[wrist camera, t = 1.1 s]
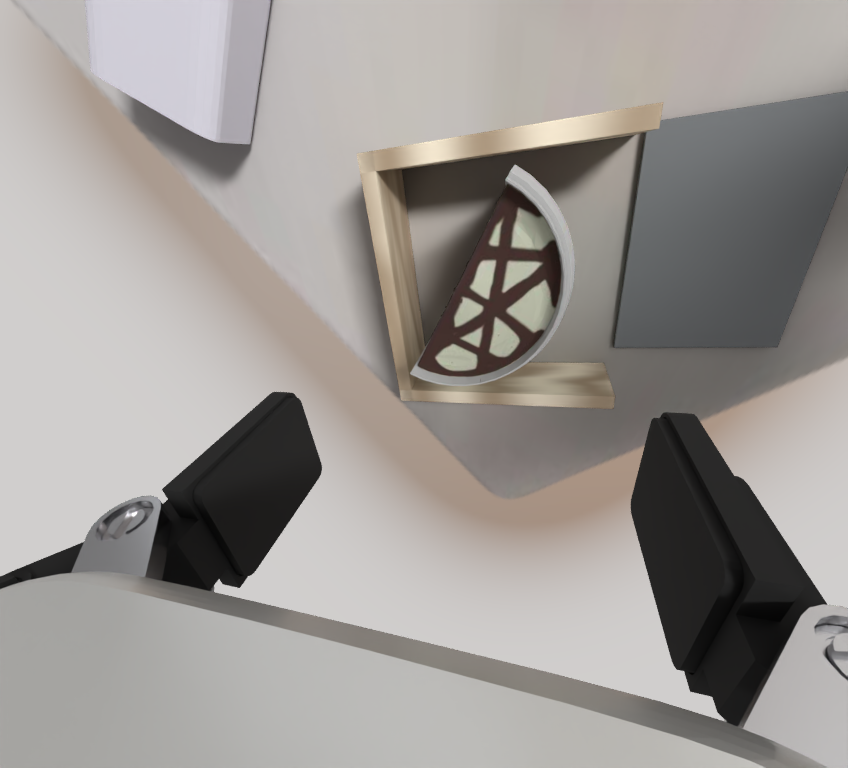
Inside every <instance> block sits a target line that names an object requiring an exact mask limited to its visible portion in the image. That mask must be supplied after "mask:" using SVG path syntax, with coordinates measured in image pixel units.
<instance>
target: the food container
mask: <svg viewBox="0 0 848 768" xmlns="http://www.w3.org/2000/svg"><path fill="white" fill-rule="evenodd" d="M505 183H506V187H505V189H504V191H503V194H502V195H501V197H500V198H499V200H498V203H497V204H496V208H495V210H494V212H493V214H492V216H491V218H490V220H489V222H487V224H486V225H487V226H486V228H485V230H484V232H483V234H482V236H481V238H480V240H479V242H478V244H477V246H476V248H475V250H474V252H473V255H472V257H471V259H470V261H468V263H467V265H466V269H465V271H464V273H463V275H462V277H461V279H460V281H459V283H458V284H457V287H456V288H454V293H453V295H452V297H451V299H450V301H449V303H448V305H447V306H446V309H445V311H444V313H443V314H442V315H441V319H440V320H439V322H438V324H437V326H436V328H435V330H434V332H433V333H432V336H431V338H430V340H429V342H428V343H427V345H426V347H425V349H424V350H423V352H422V354H421V356H420V357H419V359H418V361H417V363H416V364H415V366H414V368H413V369H412V371H411V373H410V374H411V375H413V376H415V377H417V378H420V379H422V380H425V381H429V382H432V383H436V384H442V385H448V386H471V385H479V384H483V383H487V382H491V381H494V380H497V379H499V378H501V377H504V376H506V375H508V374H510V373H512V372H514V371H516V370H517V369H519V368H521V367H522V366H524V365H525V364H527V363H528V362H529V361H530V360H531V359H533V358H534V357H535V356H536V355H537V354H538V353H539V352H540V351H541V350H542V349H543V348H544V347H545V345H546V344H547V343H548V342H549V341H550V339H551V338H552V336H553V334H554V333H555V331H556V330H557V328H558V326H559V324H560V322H561V320H562V318H563V316H564V314H565V311H566V309H567V306H568V304H569V301H570V298H571V293H572V289H573V285H574V273H575V259H574V249H573V243H572V239H571V236H570V232H569V229H568V225H567V223H566V221H565V219H564V217H563V215H562V213H561V211H560V209H559V206H558V205H557V204H556V202H555V201H554V200H553V198H552V197H551V195H550V194H549V193H548V191H547V190H546V189H545V188H544V187H543V186H542V185H541V184H540V183H539V182H538V181H537V180H536V179H535V178H534V177H533V176H532V175H530V174H529V173H527V172H526V171H524V170H523V169H521V168H520V167H518V166H517V165H514V166H513V168H512V169H511V171H510V172H509V174H508V177H507V178H506V179H505Z"/></svg>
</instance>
